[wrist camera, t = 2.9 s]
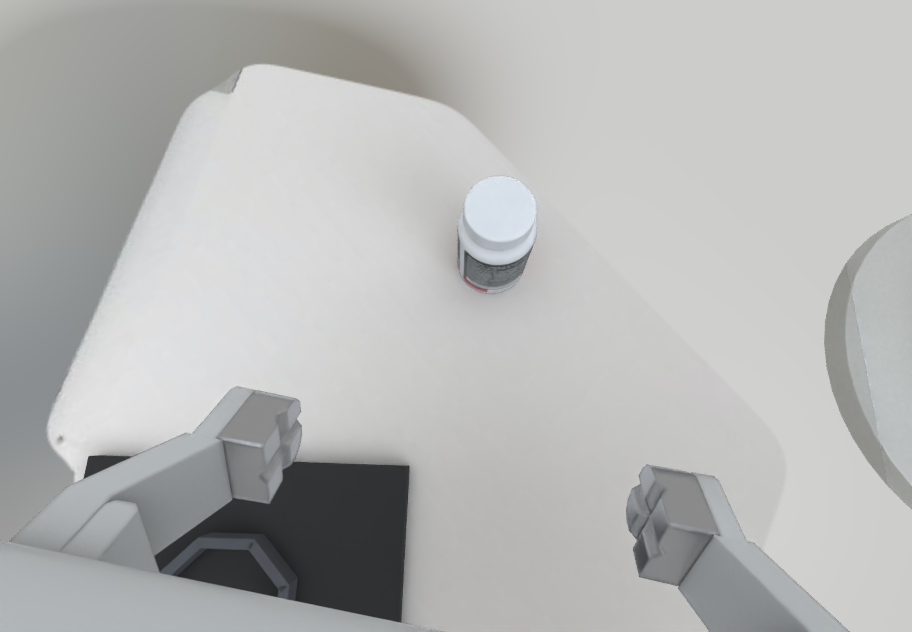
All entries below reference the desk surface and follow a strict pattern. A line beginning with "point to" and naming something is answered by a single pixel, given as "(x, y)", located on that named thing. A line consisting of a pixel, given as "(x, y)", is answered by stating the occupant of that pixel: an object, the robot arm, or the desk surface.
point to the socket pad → (304, 539)
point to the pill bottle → (496, 233)
